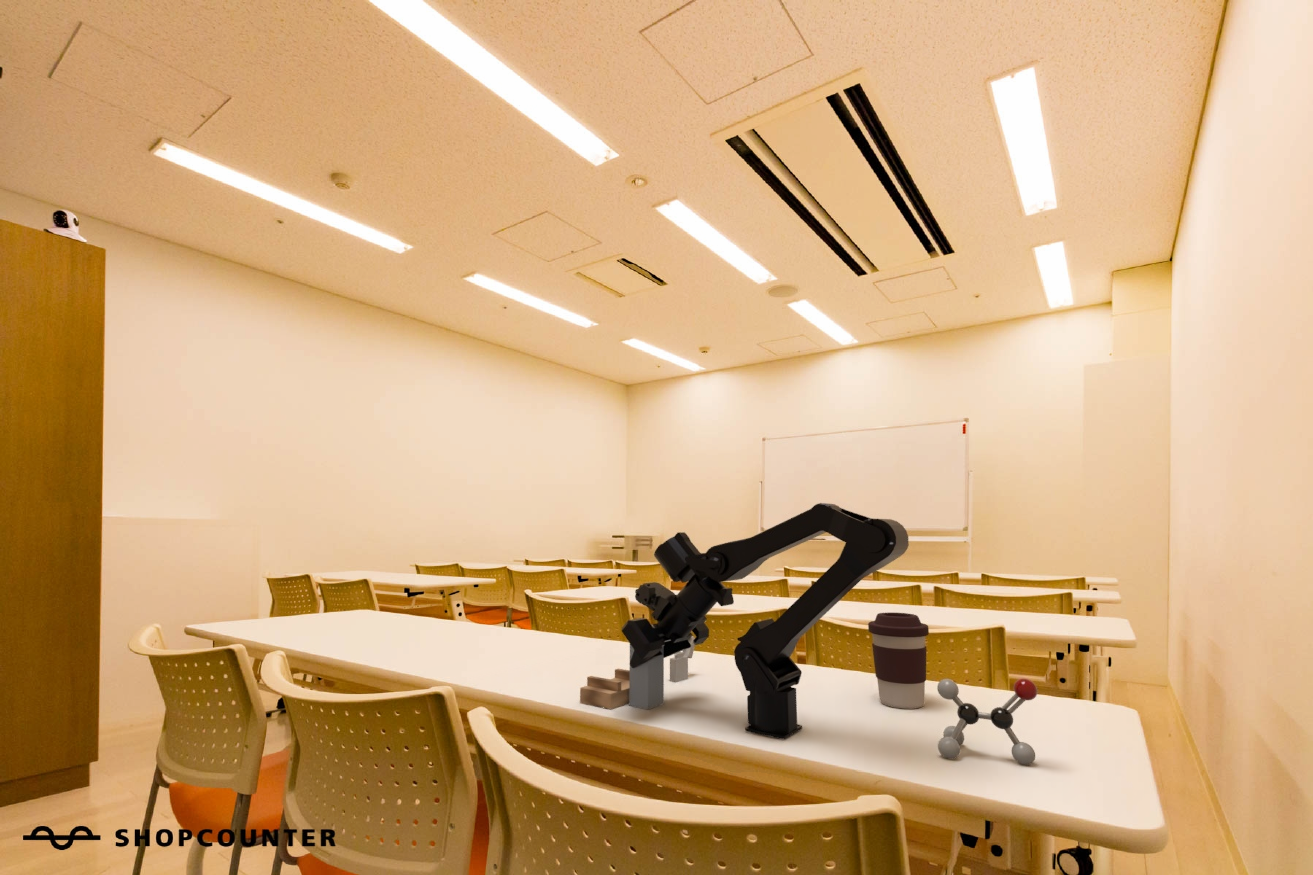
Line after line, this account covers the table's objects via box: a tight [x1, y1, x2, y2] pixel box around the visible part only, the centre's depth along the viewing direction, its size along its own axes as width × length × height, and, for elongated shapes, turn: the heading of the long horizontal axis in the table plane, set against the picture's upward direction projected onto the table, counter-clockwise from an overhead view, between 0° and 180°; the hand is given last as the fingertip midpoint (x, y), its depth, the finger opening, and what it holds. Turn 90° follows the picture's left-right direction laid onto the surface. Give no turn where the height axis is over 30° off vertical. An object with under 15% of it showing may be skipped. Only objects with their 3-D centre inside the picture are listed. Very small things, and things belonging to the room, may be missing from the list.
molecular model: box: [936, 678, 1038, 766], centre depth 85 cm, size 8×12×11 cm
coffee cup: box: [867, 612, 930, 710], centre depth 111 cm, size 10×10×15 cm
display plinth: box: [579, 668, 630, 710], centre depth 113 cm, size 7×12×4 cm, turn 143°
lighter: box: [669, 635, 696, 683], centre depth 129 cm, size 7×2×8 cm, turn 141°
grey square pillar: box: [628, 643, 665, 710], centre depth 110 cm, size 4×4×13 cm
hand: (640, 663), depth 111 cm, fingers closed on grey square pillar, 4 cm apart
